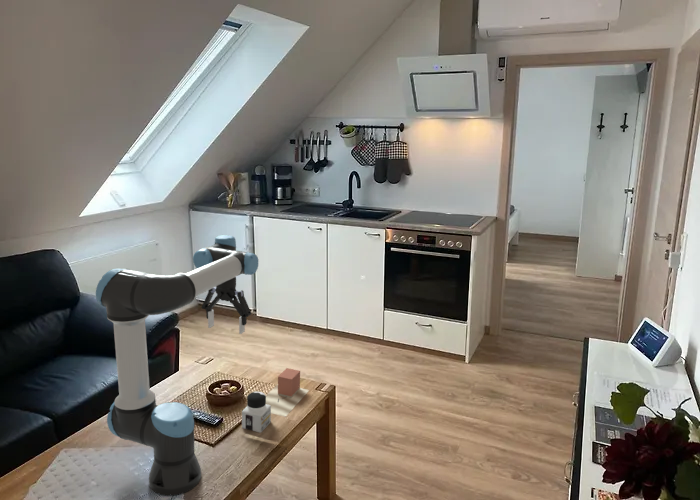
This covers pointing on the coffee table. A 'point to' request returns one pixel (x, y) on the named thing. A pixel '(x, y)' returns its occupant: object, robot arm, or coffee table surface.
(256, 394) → the container
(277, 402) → the board
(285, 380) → the block
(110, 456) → the coffee table surface
